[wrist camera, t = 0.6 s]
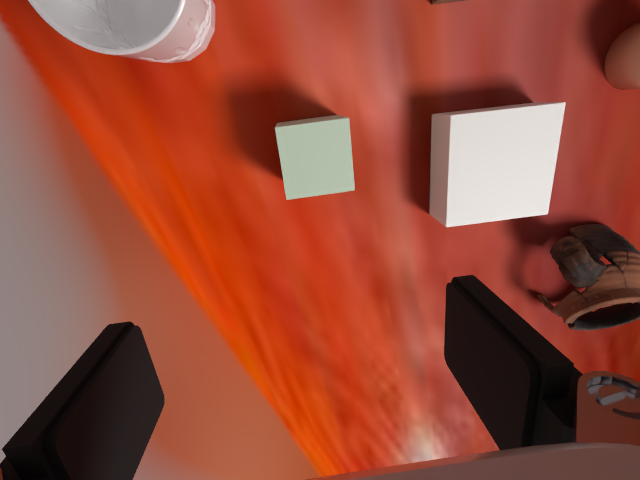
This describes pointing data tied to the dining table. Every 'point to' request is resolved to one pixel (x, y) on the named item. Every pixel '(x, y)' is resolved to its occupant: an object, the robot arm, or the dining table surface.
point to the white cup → (134, 26)
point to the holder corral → (443, 1)
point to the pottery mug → (597, 278)
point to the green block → (315, 156)
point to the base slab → (493, 162)
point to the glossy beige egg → (624, 59)
